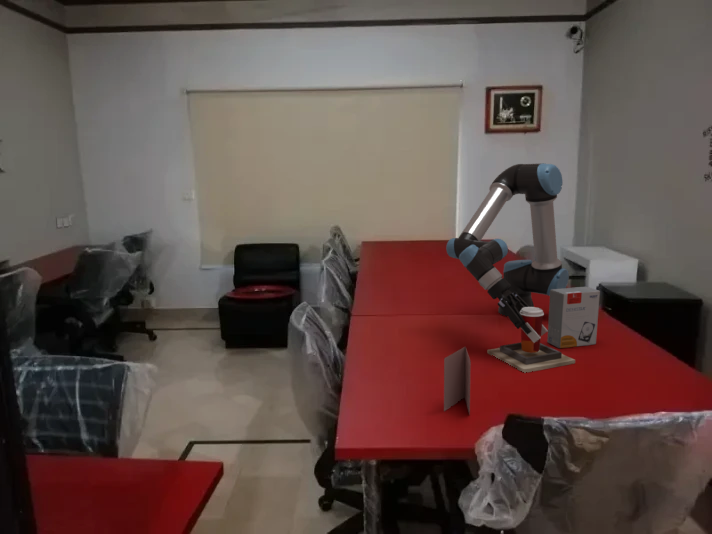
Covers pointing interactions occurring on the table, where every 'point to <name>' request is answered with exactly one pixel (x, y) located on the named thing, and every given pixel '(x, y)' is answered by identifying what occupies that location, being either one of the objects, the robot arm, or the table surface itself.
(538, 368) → the seat plate
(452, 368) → the greeting card
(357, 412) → the table surface
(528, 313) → the paper cup
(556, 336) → the hard drive box
